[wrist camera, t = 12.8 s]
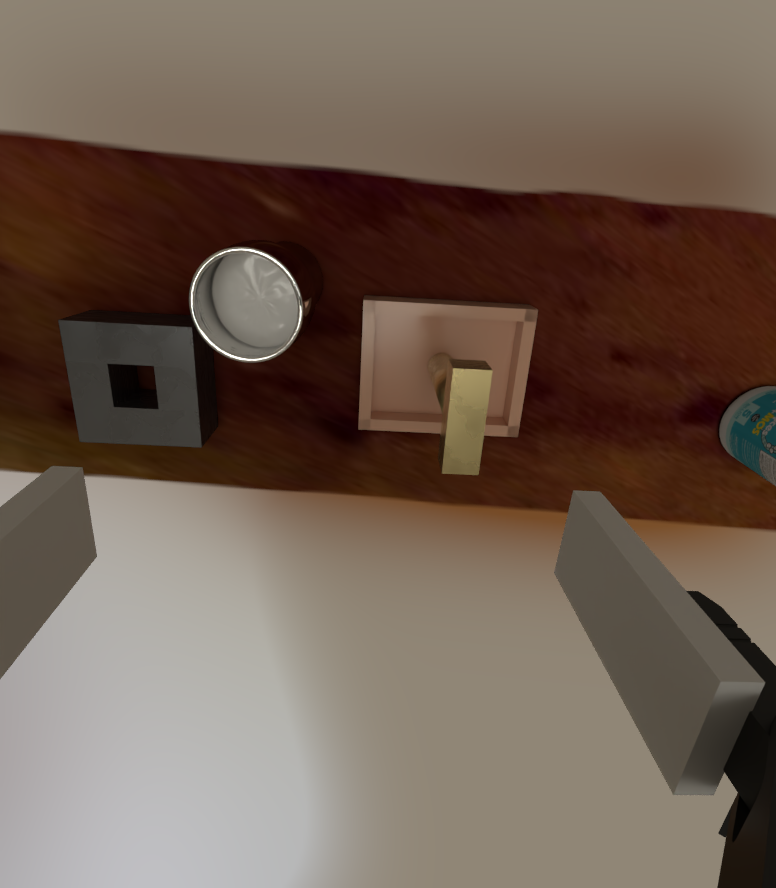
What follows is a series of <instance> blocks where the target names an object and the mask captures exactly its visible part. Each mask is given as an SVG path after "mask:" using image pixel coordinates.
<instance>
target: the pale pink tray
mask: <svg viewBox="0 0 776 888" xmlns="http://www.w3.org/2000/svg"><path fill="white" fill-rule="evenodd" d="M537 315H538V309H536V308H534V307H532V306H530V305H529V304H512V303H494V302H477V301H460V300H442V299H425V298H407V297H390V296H372V295H364V300H363V326H362V352H361V377H360V403H359V428H358V430H379V431H400V432H421V433H441V424H442V411H441V408H440V405H439V402H438V399H437V396H436V393H435V390H434V387H433V384H432V381H431V378H430V375H429V372H428V368H427V366H428V361H429V360H430V358H431V357H432V356H433V355H435V354H437V353H447V354H449V355H450V356H451V357H452V358H453V359H462V360H481V361H486V362H487V363H488V365H489V366H490V367H491V369H492V370H493V372H492V380H491V387H490V394H489V402H488V409H487V416H486V423H485V431H484V436H505V437H518V432H519V426H520V419H521V413H522V407H523V401H524V395H525V389H526V382H527V376H528V370H529V364H530V358H531V352H532V346H533V339H534V333H535V327H536V321H537Z"/></svg>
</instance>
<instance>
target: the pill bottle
mask: <svg viewBox="0 0 776 888" xmlns="http://www.w3.org/2000/svg"><path fill="white" fill-rule="evenodd" d="M719 435H720V440H721V443H722V445H723V447H724V448H725V450H726V451H727V452H728V453H729V454H730V455H731V456H733V457H734V458H736V459H737V460H738V461H740V462H741V463H743V464H744V465H746V466H747V467H749V468H750V469H752V470H753V471H755V472H756V473H757V474H759V475H760V476H762V477H763V478H765V479H766V480H768V481H769V482H771V483H772V484H774V485H775V486H776V386H765V387H759V388H756V389H753V390H750V391H748V392H746V393H745V394H743V395H741V396H740V397H738V398H737V399H736V400H735V401H734V402H733V403H732V404H731V405H730V406H729V407H728V409H727V410H726V412H725V413H724V415H723V417H722V420H721V423H720V428H719Z"/></svg>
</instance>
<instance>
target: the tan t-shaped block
mask: <svg viewBox="0 0 776 888" xmlns="http://www.w3.org/2000/svg"><path fill="white" fill-rule="evenodd" d="M427 368H428V372H429V375H430V378H431V381H432V384H433V387H434V390H435V393H436V396H437V399H438V402H439V405H440V408H441V411H442V424H441V434H440V443H439V453H438V460H439V464H440V468H441V472H442V473H444V474H466V475H478V474H479V467H480V460H481V453H482V445H483V438H484V431H485V423H486V416H487V409H488V402H489V394H490V387H491V380H492V372H493V370H492V369H491V367H490V366H489V365H488V363H487V362H486V361H481V360H462V359H453V358H452V357H451V356H450V355H449V354H447V353H437V354H435V355H433V356H432V357H431V358H430V360H429V361H428V366H427Z"/></svg>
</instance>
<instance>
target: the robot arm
mask: <svg viewBox="0 0 776 888" xmlns="http://www.w3.org/2000/svg"><path fill="white" fill-rule="evenodd" d="M96 557H97V554H96V548H95V542H94V535H93V529H92V523H91V516H90V510H89V505H88V498H87V492H86V486H85V479H84V473H83V467H62V466H51V467H50V468H49V469H48V470H46V471H45V472H44V473H43V474H41V475H40V476H39V477H38V478H36V479H35V480H34V481H33V482H31V483H30V484H29V485H28V486H26V487H25V488H24V489H23V490H21V491H20V492H19V493H17V494H16V495H15V496H14V497H12V498H11V499H10V500H9V501H7V502H6V503H5V504H4V505H2V506H1V507H0V679H1V677H2V676H3V675H4V674H5V672H6V671H7V670H8V668H9V667H10V666H11V665H12V664H13V662H14V661H15V660H16V658H17V657H18V656H19V655H20V653H21V652H22V651H23V650H24V648H25V647H26V646H27V644H28V643H29V642H30V641H31V639H32V638H33V637H34V636H35V634H36V633H37V632H38V631H39V629H40V628H41V627H42V625H43V624H44V623H45V622H46V620H47V619H48V618H49V617H50V615H51V614H52V613H53V611H54V610H55V609H56V608H57V606H58V605H59V604H60V603H61V601H62V600H63V599H64V598H65V596H66V595H67V594H68V592H69V591H70V590H71V588H72V587H73V586H74V585H75V584H76V582H77V581H78V580H79V578H80V577H81V576H82V575H83V573H84V572H85V571H86V570H87V568H88V567H89V566H90V565H91V563H92V562H93V561H94V559H95V558H96ZM554 573H555V575H556V577H557V579H558V581H559V583H560V585H561V587H562V588H563V590H564V592H565V594H566V596H567V598H568V599H569V601H570V603H571V605H572V607H573V609H574V611H575V612H576V614H577V616H578V618H579V620H580V622H581V624H582V626H583V628H584V629H585V631H586V633H587V635H588V637H589V639H590V641H591V642H592V644H593V646H594V648H595V650H596V652H597V653H598V655H599V657H600V659H601V661H602V663H603V665H604V667H605V668H606V670H607V672H608V674H609V676H610V678H611V680H612V681H613V683H614V685H615V687H616V689H617V691H618V693H619V695H620V696H621V698H622V700H623V702H624V704H625V706H626V708H627V709H628V711H629V713H630V715H631V717H632V719H633V721H634V722H635V724H636V726H637V728H638V730H639V732H640V734H641V735H642V737H643V739H644V741H645V743H646V745H647V747H648V748H649V750H650V752H651V754H652V756H653V758H654V760H655V761H656V763H657V765H658V767H659V768H660V771H661V773H662V775H663V776H664V778H665V780H666V782H667V784H668V786H669V788H670V789H671V791H672V793H673V795H714V793H715V791H716V789H717V787H718V785H719V782H720V780H721V778H722V776H723V774H724V772H725V773H726V775H727V776H728V778H729V779H730V781H731V783H732V784H733V786H734V787H735V789H736V790H737V792H738V794H737V796H736V798H735V800H734V802H733V804H732V806H731V808H730V810H729V812H728V815H727V817H726V819H725V821H724V823H723V825H722V827H721V829H720V831H719V834H720V835H722V836H724V837H726V842H725V848H724V853H723V859H722V865H721V871H720V876H719V882H718V888H776V666H775V665H774V664H773V663H772V662H771V660H770V659H769V658H768V657H767V656H766V655H765V654H764V653H763V652H762V651H761V650H760V648H759V647H757V645H756V644H755V643H751V639H750V638H749V637H748V635H746V633H745V632H744V631H743V630H742V629H741V628H738V627H737V624H736V622H735V621H734V620H733V619H732V618H731V617H730V616H729V615H728V614H727V613H726V612H725V610H724V609H723V608H722V607H721V606H719V605H718V604H716V603H715V602H713V601H712V600H710V599H709V598H707V597H706V596H705V595H703V594H701V593H700V592H698V591H686V590H685V589H684V588H683V587H682V586H681V585H680V583H679V582H678V581H677V580H676V579H675V578H674V577H673V575H672V574H671V573H670V572H669V571H668V569H667V568H666V567H665V566H664V565H663V564H662V563H661V561H660V560H659V559H658V558H657V557H656V556H655V555H654V553H653V552H652V551H651V550H650V549H649V548H648V546H647V545H646V544H645V543H644V542H643V541H642V539H641V538H640V537H639V536H638V535H637V534H636V533H635V531H634V530H633V529H632V528H631V527H630V526H629V524H628V523H627V522H626V521H625V520H624V519H623V517H622V516H621V515H620V514H619V513H618V512H617V511H616V509H615V508H614V507H613V506H612V505H611V504H610V502H609V501H608V500H607V499H606V498H605V497H604V496H603V494H602V493H601V492H595V491H573V494H572V499H571V503H570V507H569V512H568V516H567V520H566V525H565V529H564V533H563V537H562V542H561V546H560V550H559V555H558V559H557V563H556V567H555V572H554Z"/></svg>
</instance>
